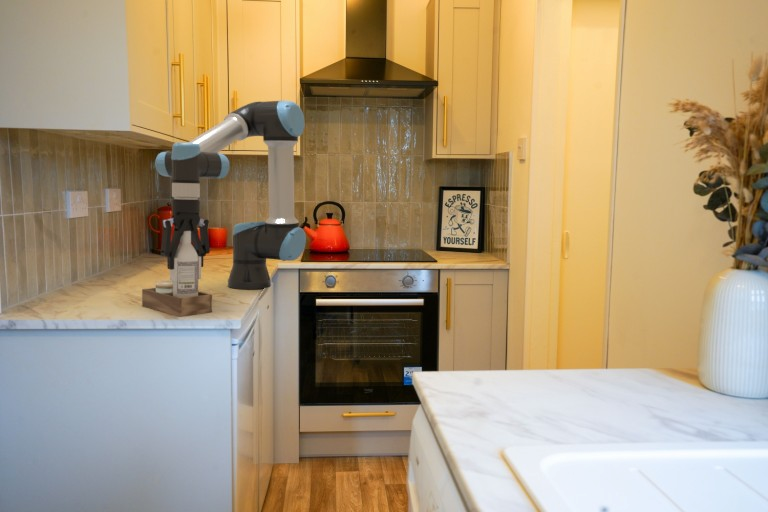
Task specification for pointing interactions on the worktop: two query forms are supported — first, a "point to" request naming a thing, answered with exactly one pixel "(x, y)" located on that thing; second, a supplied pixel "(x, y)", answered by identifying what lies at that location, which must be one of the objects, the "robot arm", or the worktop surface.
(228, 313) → the worktop surface
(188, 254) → the bath foam
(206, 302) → the caddy
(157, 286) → the cream jar
